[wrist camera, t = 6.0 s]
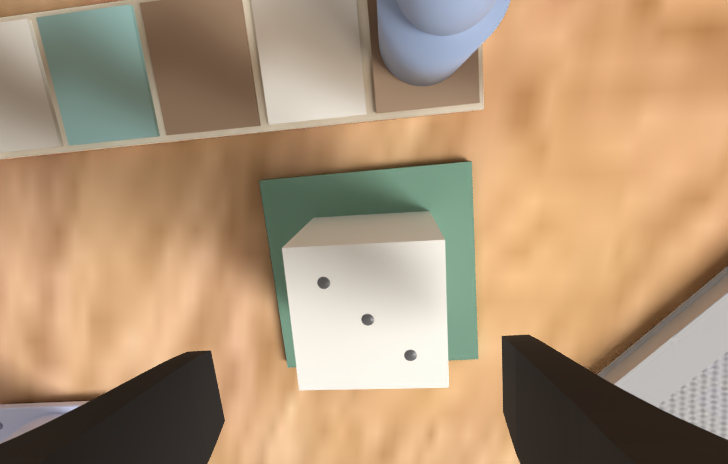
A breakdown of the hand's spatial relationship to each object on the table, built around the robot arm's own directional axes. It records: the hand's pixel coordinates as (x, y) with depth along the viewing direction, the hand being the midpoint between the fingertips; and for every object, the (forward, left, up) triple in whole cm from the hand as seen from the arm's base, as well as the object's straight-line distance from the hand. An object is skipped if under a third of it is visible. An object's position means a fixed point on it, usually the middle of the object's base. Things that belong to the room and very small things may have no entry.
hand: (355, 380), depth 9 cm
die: (0, 0, -8) cm, 8 cm away
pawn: (+9, -3, -8) cm, 12 cm away
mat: (0, 0, -8) cm, 8 cm away
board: (+9, +6, -8) cm, 14 cm away
